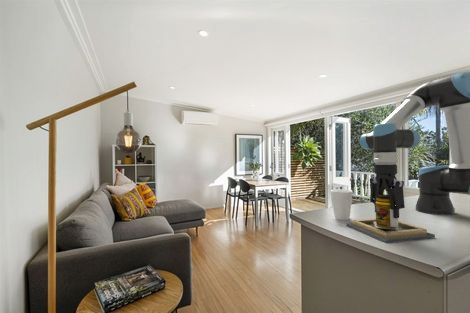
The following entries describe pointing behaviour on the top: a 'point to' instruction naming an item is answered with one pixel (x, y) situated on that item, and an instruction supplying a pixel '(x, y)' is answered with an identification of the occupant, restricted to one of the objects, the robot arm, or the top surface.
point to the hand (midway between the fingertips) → (386, 223)
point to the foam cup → (341, 203)
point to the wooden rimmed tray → (390, 231)
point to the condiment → (383, 212)
